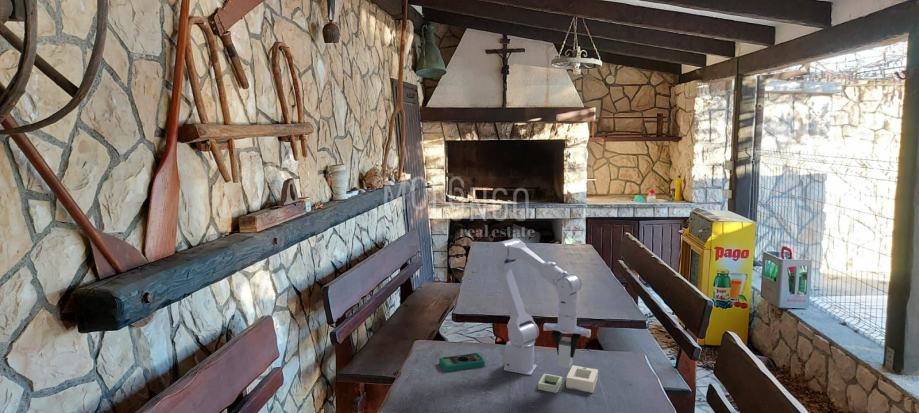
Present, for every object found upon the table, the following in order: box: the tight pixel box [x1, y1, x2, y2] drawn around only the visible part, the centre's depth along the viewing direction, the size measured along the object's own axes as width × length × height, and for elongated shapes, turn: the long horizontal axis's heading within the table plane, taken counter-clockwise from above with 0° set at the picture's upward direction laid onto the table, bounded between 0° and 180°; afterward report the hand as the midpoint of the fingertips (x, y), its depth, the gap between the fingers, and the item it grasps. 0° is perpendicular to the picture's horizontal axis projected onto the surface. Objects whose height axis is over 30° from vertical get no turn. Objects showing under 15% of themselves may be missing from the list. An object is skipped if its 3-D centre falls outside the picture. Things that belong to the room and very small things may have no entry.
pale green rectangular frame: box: [537, 373, 564, 394], centre depth 178 cm, size 6×8×2 cm
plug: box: [557, 336, 574, 369], centre depth 177 cm, size 4×5×8 cm
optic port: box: [565, 364, 599, 394], centre depth 180 cm, size 8×10×4 cm
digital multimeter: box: [438, 352, 486, 373], centre depth 193 cm, size 7×15×3 cm, turn 110°
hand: (565, 355), depth 177 cm, fingers closed on plug, 3 cm apart
